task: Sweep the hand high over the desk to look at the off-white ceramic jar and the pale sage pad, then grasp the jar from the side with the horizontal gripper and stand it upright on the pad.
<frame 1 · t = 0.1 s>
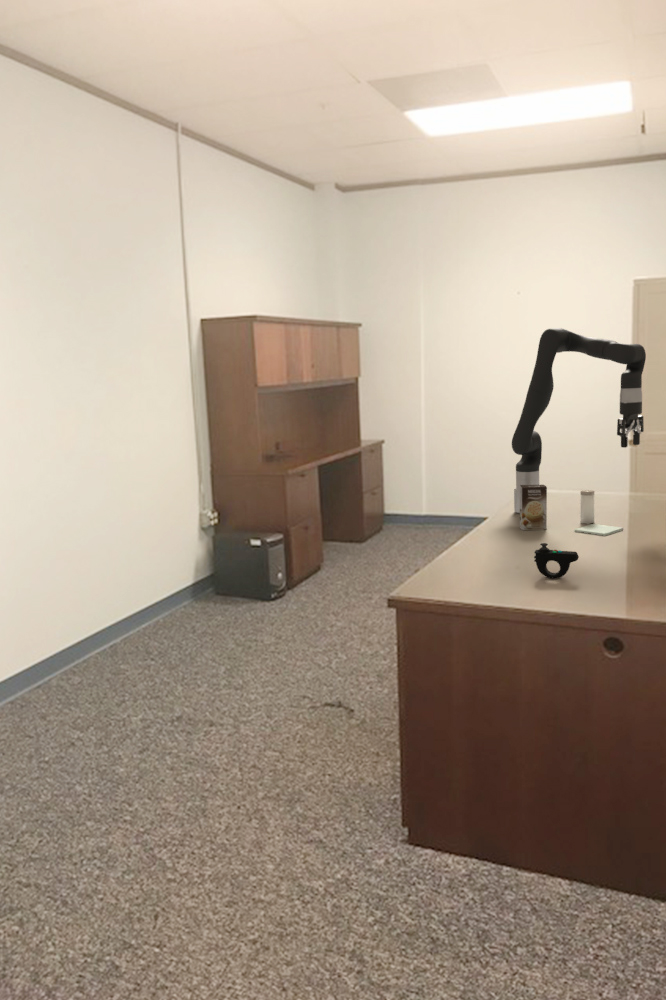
hand: (630, 446, 287), 29 cm above the table, tool pointing down, fingers open, 8 cm apart
controller: (556, 578, 229), on the table
sage pad: (598, 530, 285), on the table
coffee box: (533, 528, 295), on the table
ceramic jar: (587, 522, 300), on the table
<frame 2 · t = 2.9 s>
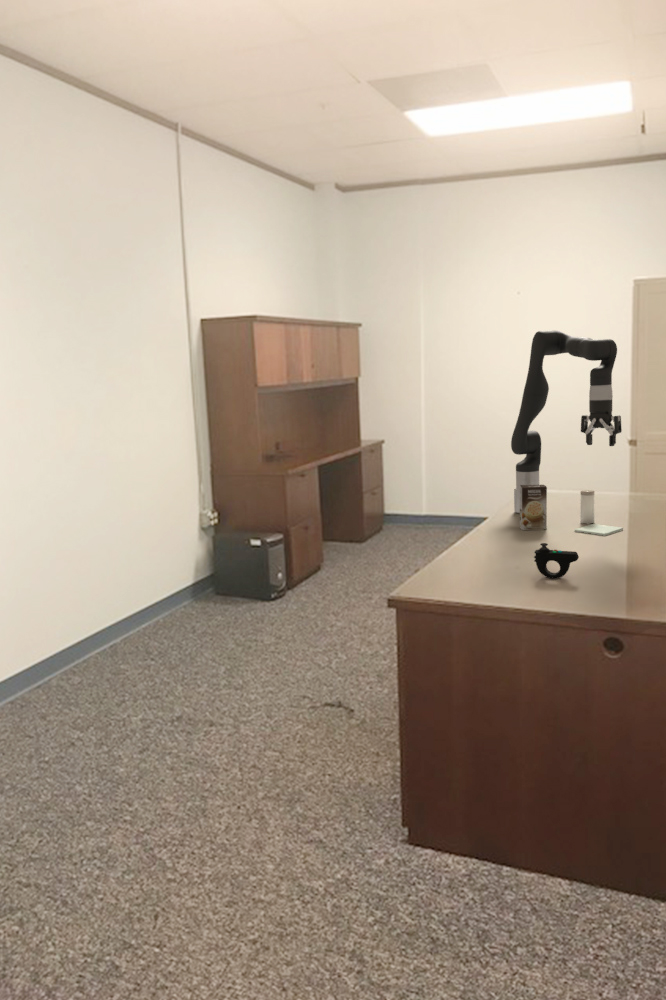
hand: (600, 445, 275), 31 cm above the table, tool pointing down, fingers open, 8 cm apart
nothing on the table moved.
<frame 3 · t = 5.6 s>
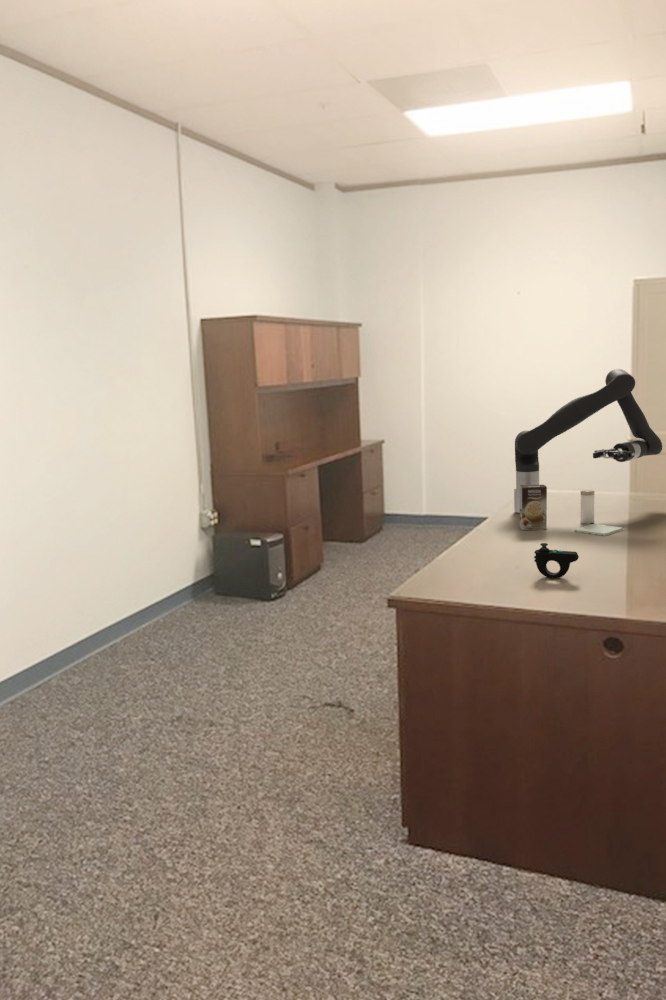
hand: (603, 456, 303), 24 cm above the table, tool horizontal, fingers open, 8 cm apart
nothing on the table moved.
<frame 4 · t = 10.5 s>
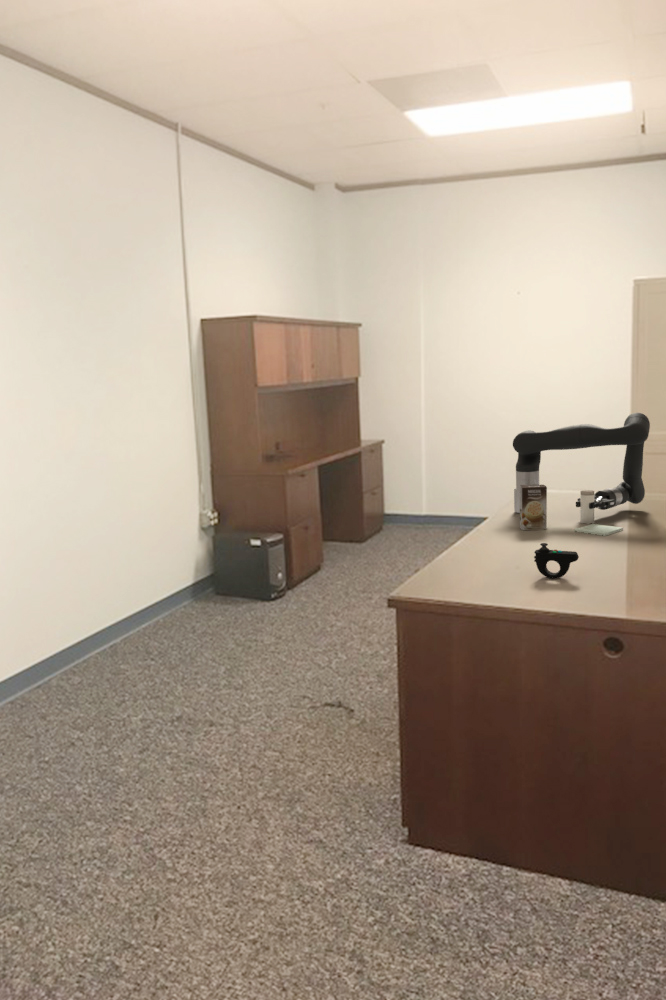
hand: (583, 505, 297), 7 cm above the table, tool horizontal, fingers closed on ceramic jar, 5 cm apart
ceramic jar: (587, 522, 300), on the table, touching gripper
everything else where it was.
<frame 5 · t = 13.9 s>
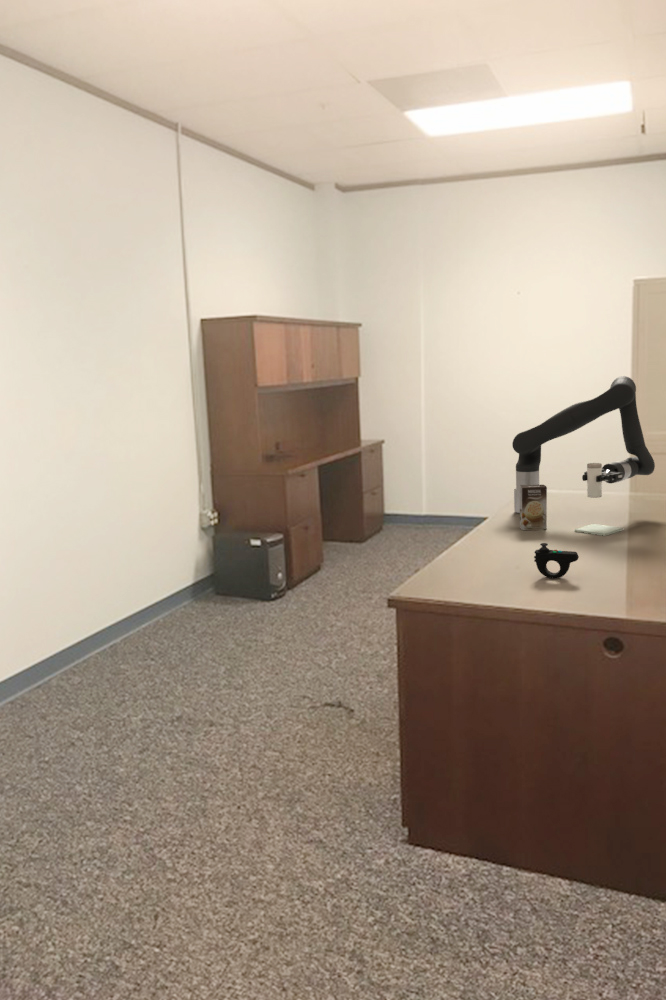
hand: (590, 478, 287), 18 cm above the table, tool horizontal, fingers closed on ceramic jar, 5 cm apart
ceramic jar: (594, 496, 290), point 11 cm above the table, touching gripper
everything else where it was.
when the fingers open (9 cm above the table, at t = 17.5 s): ceramic jar stays where it is, resting on sage pad.
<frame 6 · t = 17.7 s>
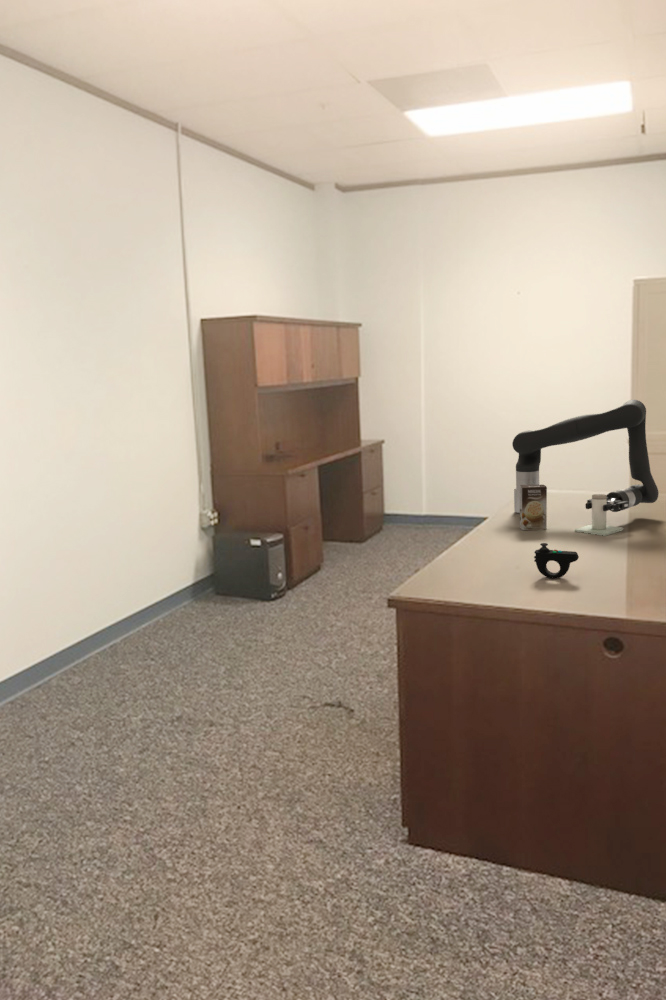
hand: (595, 507, 282), 9 cm above the table, tool horizontal, fingers open, 6 cm apart
ceramic jar: (599, 528, 285), point 1 cm above the table, touching sage pad
everything else where it was.
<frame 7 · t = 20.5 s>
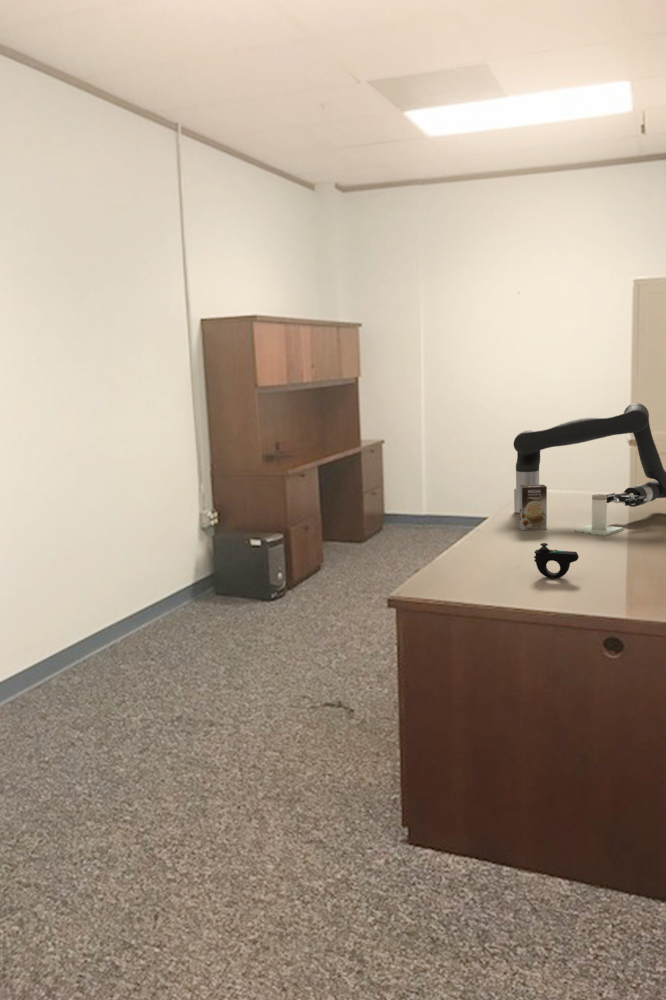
hand: (614, 501, 290), 9 cm above the table, tool horizontal, fingers open, 8 cm apart
nothing on the table moved.
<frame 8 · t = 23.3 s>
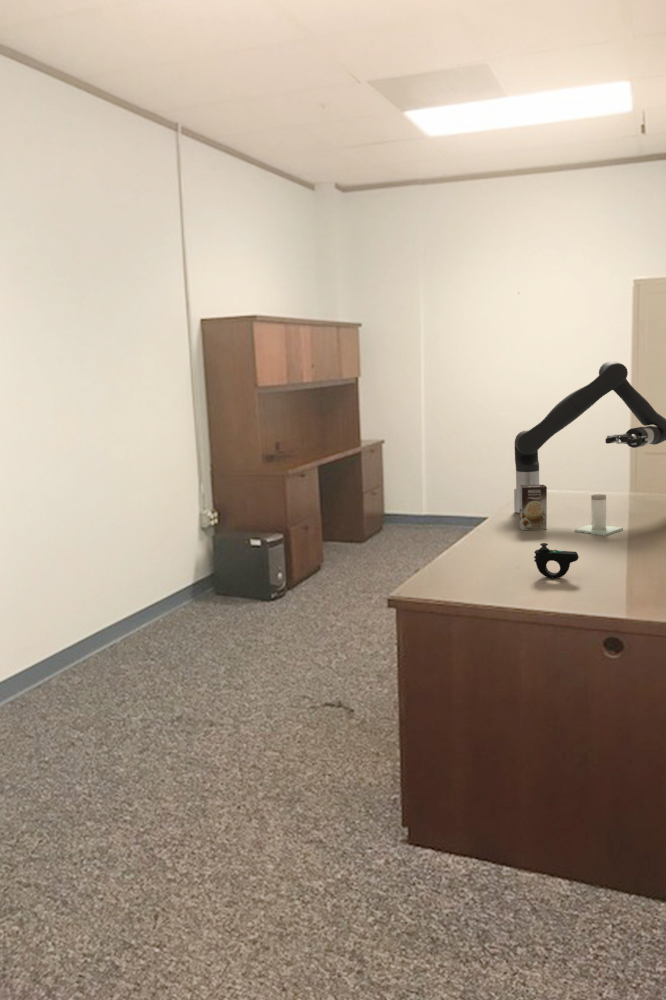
hand: (616, 441, 297), 30 cm above the table, tool horizontal, fingers open, 8 cm apart
nothing on the table moved.
at the end: ceramic jar inside the target area on the sage pad (0.1 cm from its centre), point 0.8 cm above the sage pad's base; ceramic jar tilted 1°; the gripper is holding nothing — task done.
